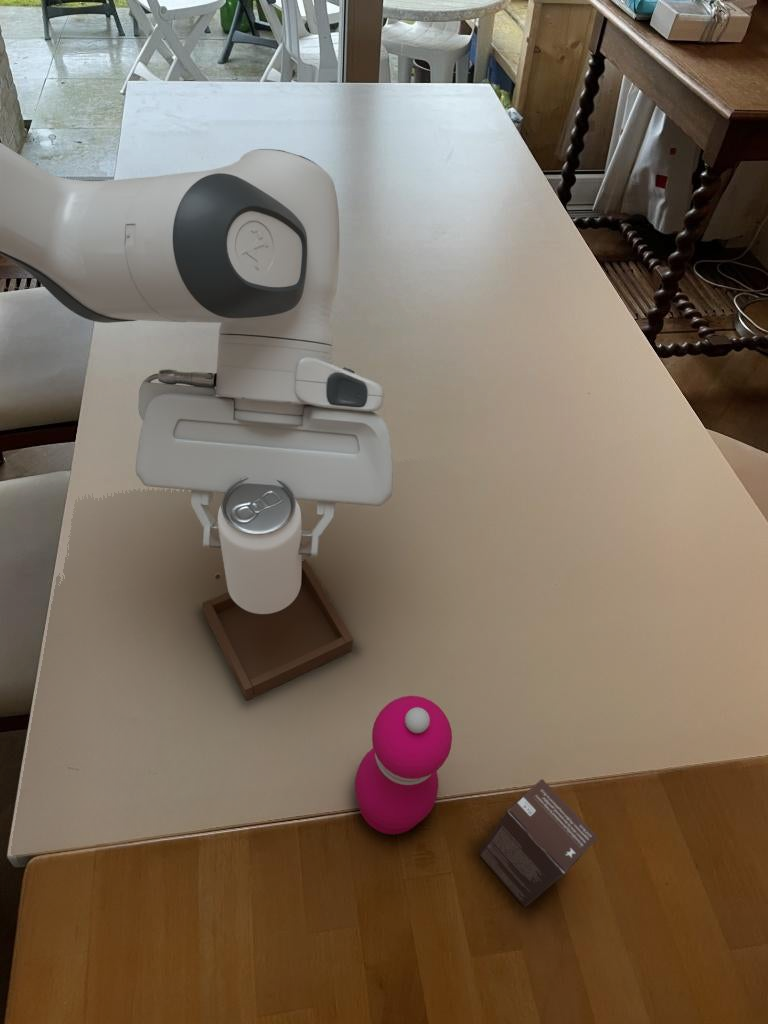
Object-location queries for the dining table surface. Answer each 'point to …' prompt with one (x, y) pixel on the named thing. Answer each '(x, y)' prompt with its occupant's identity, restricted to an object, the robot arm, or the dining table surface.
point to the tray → (278, 637)
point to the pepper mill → (403, 764)
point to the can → (261, 545)
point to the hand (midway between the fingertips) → (261, 550)
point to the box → (536, 843)
